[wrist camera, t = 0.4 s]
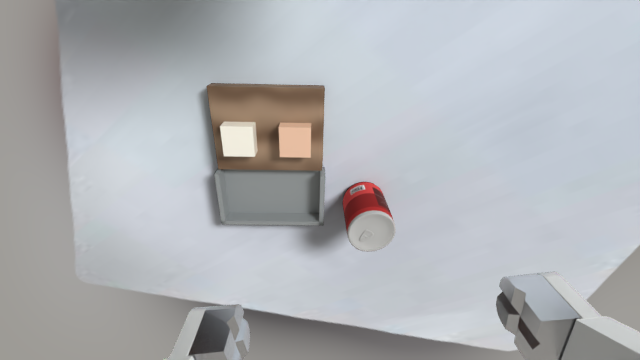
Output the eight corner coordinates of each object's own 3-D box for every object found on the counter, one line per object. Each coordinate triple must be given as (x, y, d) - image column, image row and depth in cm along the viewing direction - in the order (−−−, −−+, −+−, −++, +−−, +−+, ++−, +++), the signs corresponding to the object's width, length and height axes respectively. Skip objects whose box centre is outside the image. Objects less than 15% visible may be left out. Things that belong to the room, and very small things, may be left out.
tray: (219, 165, 56) (214, 174, 52) (324, 167, 56) (325, 175, 53) (226, 214, 60) (221, 224, 57) (322, 215, 61) (323, 225, 58)
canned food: (335, 207, 60) (339, 243, 50) (354, 174, 57) (362, 205, 47) (369, 220, 62) (380, 258, 52) (389, 188, 58) (405, 222, 49)
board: (211, 83, 49) (206, 86, 47) (324, 85, 49) (324, 88, 47) (222, 163, 55) (218, 169, 53) (321, 164, 56) (322, 170, 54)
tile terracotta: (280, 122, 50) (278, 127, 47) (311, 123, 50) (311, 127, 47) (281, 151, 52) (279, 157, 50) (310, 151, 52) (310, 157, 50)
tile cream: (224, 121, 49) (219, 126, 47) (255, 122, 49) (252, 126, 47) (227, 150, 52) (223, 156, 49) (257, 151, 52) (254, 156, 49)
